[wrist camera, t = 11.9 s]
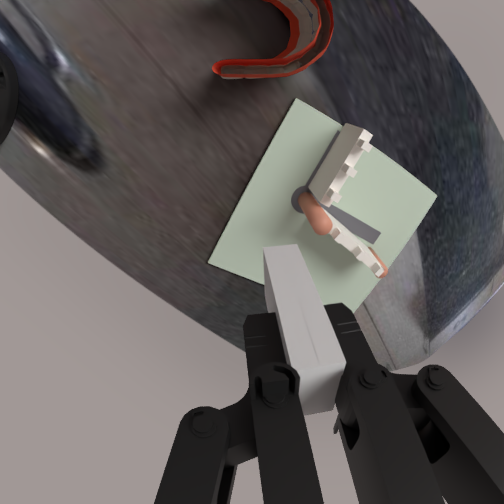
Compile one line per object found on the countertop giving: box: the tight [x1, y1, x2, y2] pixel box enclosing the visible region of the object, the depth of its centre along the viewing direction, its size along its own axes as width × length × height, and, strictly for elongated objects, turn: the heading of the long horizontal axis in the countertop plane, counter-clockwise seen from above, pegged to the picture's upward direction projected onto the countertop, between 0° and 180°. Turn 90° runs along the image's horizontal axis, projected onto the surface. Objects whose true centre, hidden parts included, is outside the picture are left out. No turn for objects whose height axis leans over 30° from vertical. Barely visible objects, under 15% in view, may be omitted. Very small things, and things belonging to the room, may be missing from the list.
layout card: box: [208, 98, 437, 313], centre depth 39 cm, size 24×23×1 cm
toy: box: [212, 0, 334, 79], centre depth 23 cm, size 12×10×8 cm
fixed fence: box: [298, 123, 373, 235], centre depth 31 cm, size 2×12×8 cm, turn 153°
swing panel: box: [323, 208, 388, 278], centre depth 36 cm, size 11×2×6 cm, turn 51°
